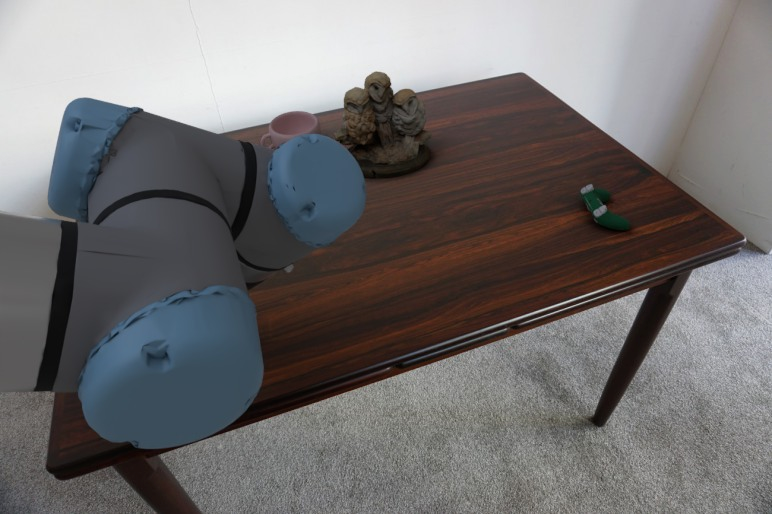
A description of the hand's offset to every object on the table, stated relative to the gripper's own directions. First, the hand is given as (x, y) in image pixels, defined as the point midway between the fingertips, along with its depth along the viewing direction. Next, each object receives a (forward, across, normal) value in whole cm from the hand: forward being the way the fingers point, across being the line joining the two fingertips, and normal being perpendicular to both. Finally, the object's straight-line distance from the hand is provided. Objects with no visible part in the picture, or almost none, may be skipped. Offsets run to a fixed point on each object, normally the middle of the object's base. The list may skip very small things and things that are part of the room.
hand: (169, 301), depth 65 cm
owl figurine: (+3, +49, -8) cm, 50 cm away
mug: (+16, +44, +4) cm, 47 cm away
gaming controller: (-25, +50, -36) cm, 67 cm away
